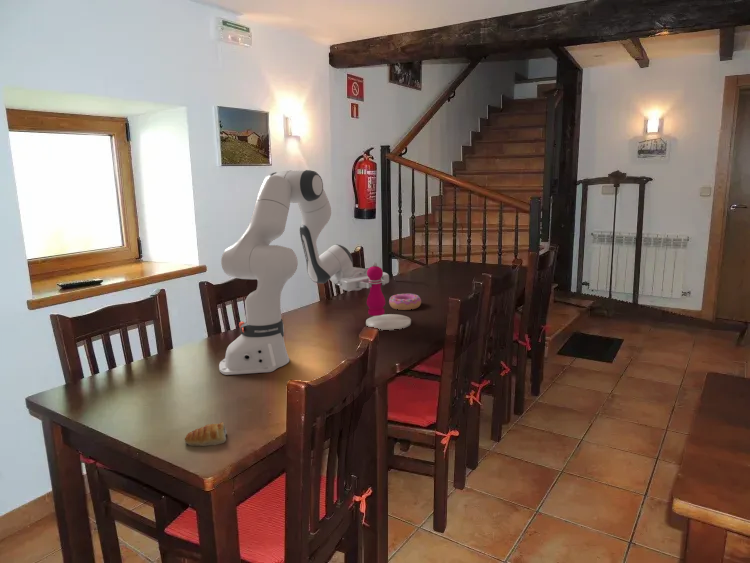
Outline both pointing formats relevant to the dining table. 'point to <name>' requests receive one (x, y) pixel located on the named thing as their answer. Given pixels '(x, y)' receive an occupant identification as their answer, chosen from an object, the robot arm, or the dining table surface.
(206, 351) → the dining table surface
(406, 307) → the donut
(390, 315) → the trivet
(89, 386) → the dining table surface
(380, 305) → the pepper mill
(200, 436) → the pastry
